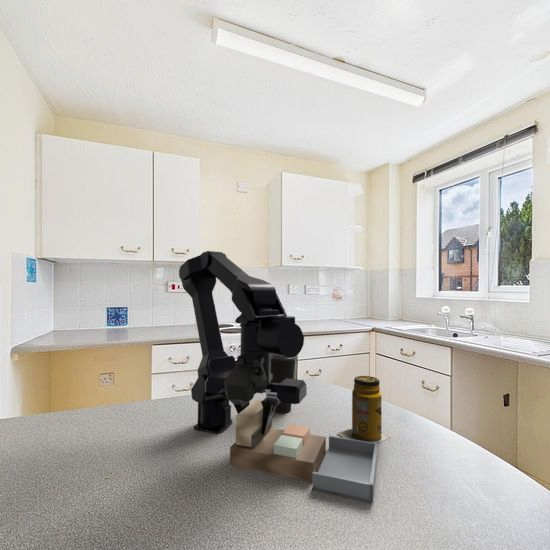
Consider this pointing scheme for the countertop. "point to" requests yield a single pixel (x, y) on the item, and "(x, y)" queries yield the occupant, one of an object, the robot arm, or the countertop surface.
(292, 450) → the tile sage
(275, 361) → the drinking cup
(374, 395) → the condiment
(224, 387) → the robot arm
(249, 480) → the countertop surface
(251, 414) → the tall cream block
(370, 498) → the tray
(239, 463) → the walnut board
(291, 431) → the tile terracotta
